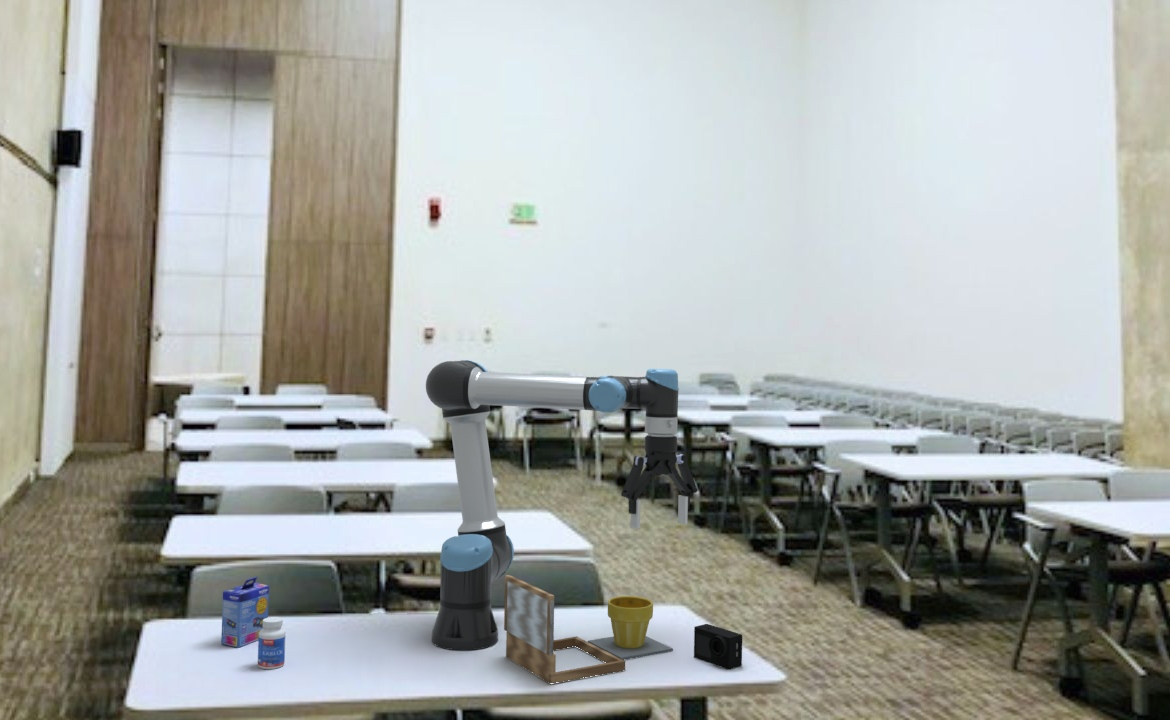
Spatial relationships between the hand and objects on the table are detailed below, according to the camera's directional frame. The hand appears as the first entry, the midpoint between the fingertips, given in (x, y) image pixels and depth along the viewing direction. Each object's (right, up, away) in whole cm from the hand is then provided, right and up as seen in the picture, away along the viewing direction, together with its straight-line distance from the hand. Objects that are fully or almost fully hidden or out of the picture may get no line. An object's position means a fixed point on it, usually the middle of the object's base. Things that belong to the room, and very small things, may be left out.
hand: (659, 525), depth 229 cm
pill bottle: (-83, -26, -23) cm, 90 cm away
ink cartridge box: (-95, -25, -7) cm, 98 cm away
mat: (-7, -27, -6) cm, 28 cm away
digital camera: (+11, -27, -15) cm, 33 cm away
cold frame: (-22, -27, -19) cm, 39 cm away
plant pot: (-7, -26, -6) cm, 28 cm away
